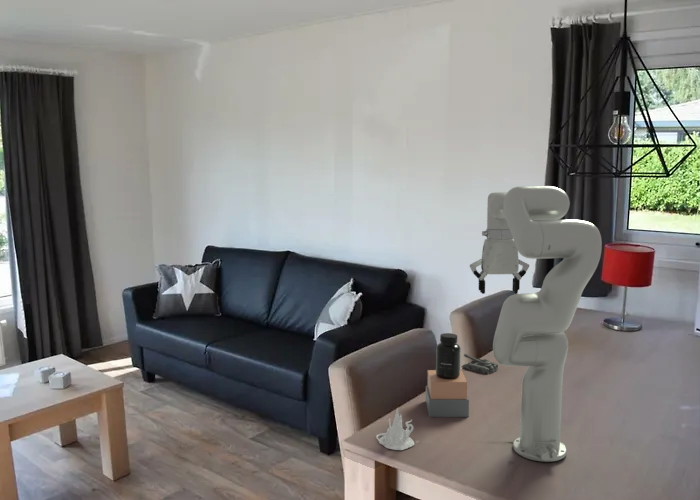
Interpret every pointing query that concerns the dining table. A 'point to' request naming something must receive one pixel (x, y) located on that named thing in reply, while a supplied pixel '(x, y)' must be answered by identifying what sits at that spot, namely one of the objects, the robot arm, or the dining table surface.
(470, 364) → the tank toy
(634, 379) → the dining table surface
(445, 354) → the supplement bottle
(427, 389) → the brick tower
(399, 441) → the tentacle sculpture
